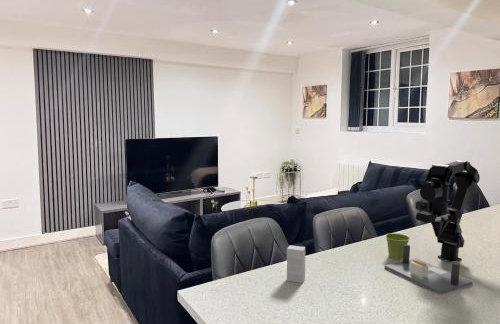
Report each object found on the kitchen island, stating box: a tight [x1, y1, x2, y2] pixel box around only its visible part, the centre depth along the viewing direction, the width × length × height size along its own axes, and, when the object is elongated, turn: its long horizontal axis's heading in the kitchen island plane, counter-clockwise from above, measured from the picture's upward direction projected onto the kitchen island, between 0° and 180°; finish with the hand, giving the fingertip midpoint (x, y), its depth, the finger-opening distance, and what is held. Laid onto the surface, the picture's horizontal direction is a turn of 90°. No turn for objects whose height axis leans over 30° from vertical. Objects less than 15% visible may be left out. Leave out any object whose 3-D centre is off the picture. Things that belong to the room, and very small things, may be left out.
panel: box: [384, 258, 474, 295], centre depth 140 cm, size 17×24×1 cm
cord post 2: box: [450, 262, 461, 285], centre depth 131 cm, size 2×2×7 cm
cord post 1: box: [402, 244, 411, 264], centre depth 150 cm, size 2×2×7 cm
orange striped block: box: [410, 258, 428, 278], centre depth 138 cm, size 3×5×5 cm, turn 25°
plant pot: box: [385, 232, 410, 260], centre depth 159 cm, size 9×9×9 cm
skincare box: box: [286, 244, 306, 284], centre depth 137 cm, size 6×4×12 cm
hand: (437, 236), depth 148 cm, fingers closed
